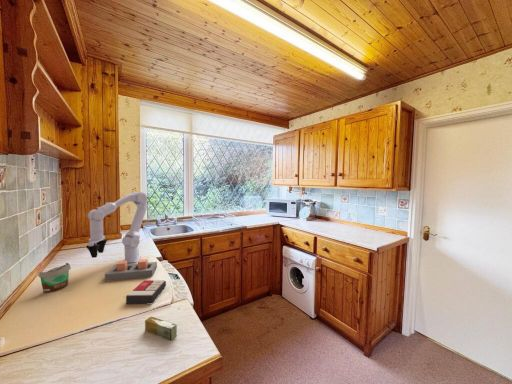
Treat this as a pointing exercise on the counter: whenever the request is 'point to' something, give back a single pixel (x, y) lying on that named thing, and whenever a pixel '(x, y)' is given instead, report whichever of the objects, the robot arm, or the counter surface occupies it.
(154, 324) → the medication box
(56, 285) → the food container
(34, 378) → the counter surface
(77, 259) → the counter surface
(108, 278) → the dock
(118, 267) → the plug
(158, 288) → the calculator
